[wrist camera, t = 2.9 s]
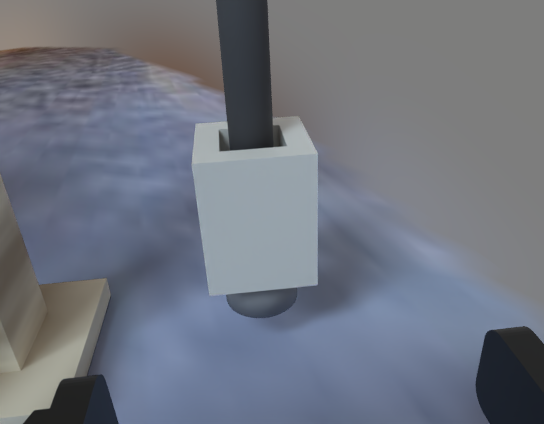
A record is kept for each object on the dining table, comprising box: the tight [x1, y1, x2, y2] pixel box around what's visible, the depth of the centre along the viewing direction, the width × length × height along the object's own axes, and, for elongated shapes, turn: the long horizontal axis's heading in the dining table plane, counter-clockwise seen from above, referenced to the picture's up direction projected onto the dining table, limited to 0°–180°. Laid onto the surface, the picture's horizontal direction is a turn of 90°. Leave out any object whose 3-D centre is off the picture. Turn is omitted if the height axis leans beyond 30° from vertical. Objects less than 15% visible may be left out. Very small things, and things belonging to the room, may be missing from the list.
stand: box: [0, 174, 111, 424], centre depth 17 cm, size 18×9×29 cm, turn 96°
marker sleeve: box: [192, 116, 318, 296], centre depth 21 cm, size 5×5×6 cm
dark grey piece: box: [216, 0, 297, 318], centre depth 18 cm, size 4×4×24 cm
